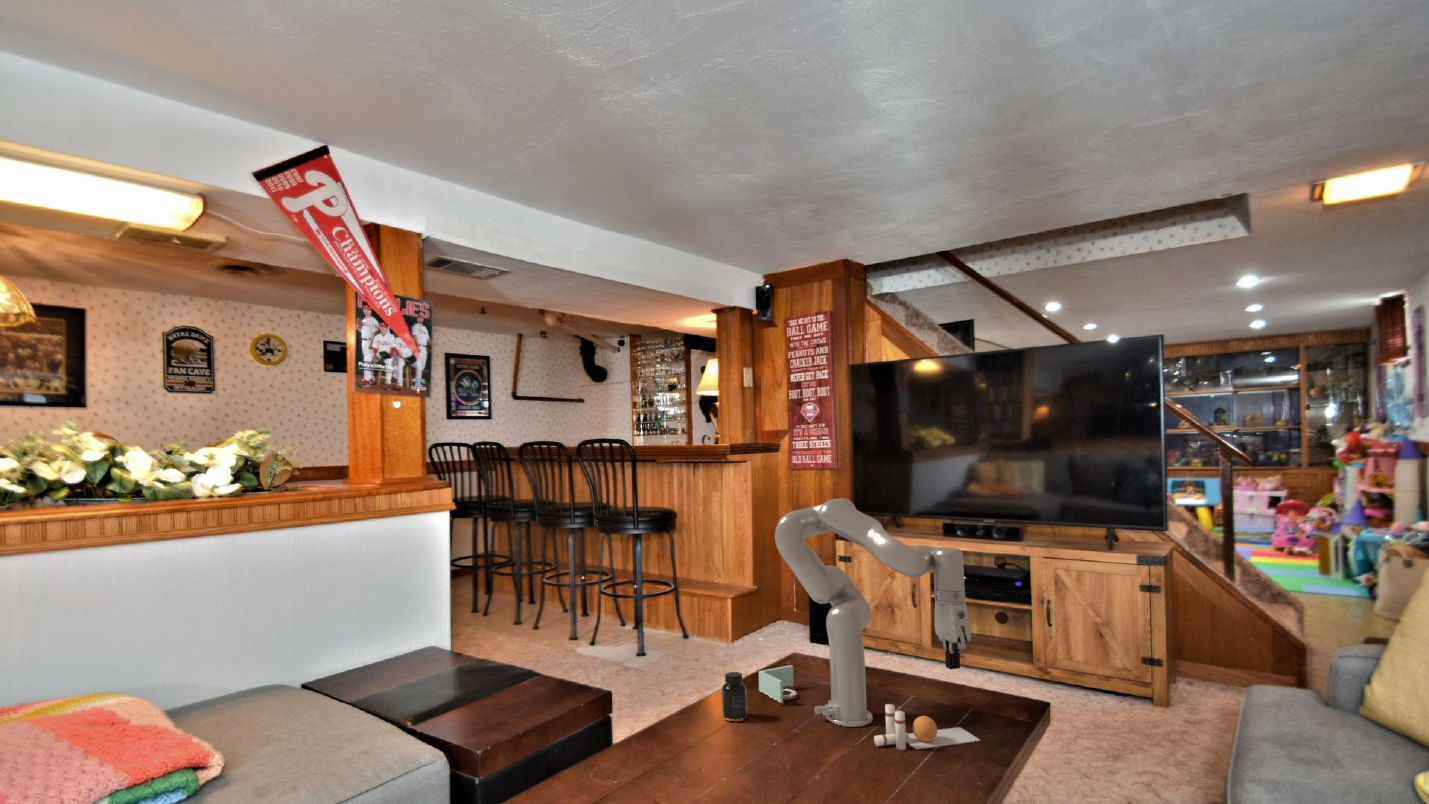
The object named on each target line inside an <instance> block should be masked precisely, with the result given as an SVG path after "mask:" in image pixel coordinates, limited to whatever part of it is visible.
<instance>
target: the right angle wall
mask: <svg viewBox="0 0 1429 804" xmlns="http://www.w3.org/2000/svg"><path fill="white" fill-rule="evenodd" d="M793 685H794V665H792V664H790V665H784V666H780V667H774V668H769V669H764V670H759V671H758V692H759V691H760V692H763V693H764V694H766V695H768V696H769V697H770V698H773V699H774V700H777V701H778V702H780V703H783V704H784V701H783V698H793V697H792V696H795V695H797V696H798V692H797V691H796V690H794V689H787V688H786V689H783V687H786V686H793ZM784 691H787V692H791V694H789V695H783V692H784Z"/></svg>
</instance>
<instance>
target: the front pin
mask: <svg viewBox="0 0 1429 804" xmlns="http://www.w3.org/2000/svg"><path fill="white" fill-rule="evenodd" d="M905 732H906V744H908V742H909V741H910V738H909V735H908V734H909V733H908V732H907V731H905ZM873 741H874V745H875V746H876V747H885V746H890V745H891V746H892V745H896V733H895V734H886V733H885V734H877V735H874V737H873Z"/></svg>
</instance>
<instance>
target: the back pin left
mask: <svg viewBox="0 0 1429 804" xmlns="http://www.w3.org/2000/svg"><path fill="white" fill-rule="evenodd" d="M884 710H885V713H884V714H885V731H886V732H885V735H886V734H895V733H896V731H895V711H896V706H895V705H894V704H891V703H887V704H885V705H884Z"/></svg>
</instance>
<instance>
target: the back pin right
mask: <svg viewBox="0 0 1429 804" xmlns="http://www.w3.org/2000/svg"><path fill="white" fill-rule="evenodd" d="M905 713H906V712H905V711H903V710H895V731H896V744H895V748H896V749H897V750H901V751H904V750H906V749H907V743H906V732H907V731H906V714H905Z"/></svg>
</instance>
